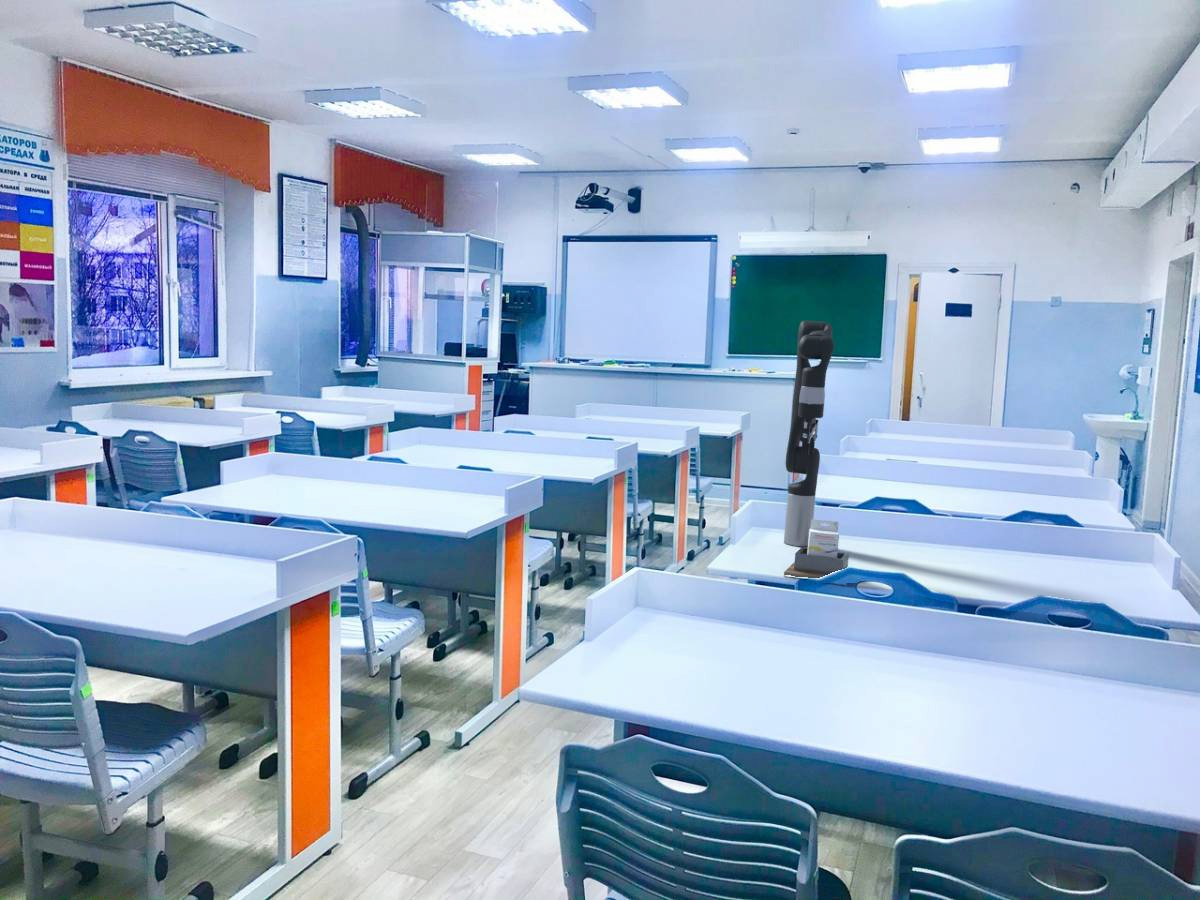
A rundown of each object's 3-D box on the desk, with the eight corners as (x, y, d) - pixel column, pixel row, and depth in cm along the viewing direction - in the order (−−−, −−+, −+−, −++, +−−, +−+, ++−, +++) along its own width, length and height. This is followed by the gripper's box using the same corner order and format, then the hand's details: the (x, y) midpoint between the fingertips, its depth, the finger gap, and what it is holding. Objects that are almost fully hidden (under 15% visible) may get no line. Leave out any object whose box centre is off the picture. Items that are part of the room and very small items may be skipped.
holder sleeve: (800, 563, 296) (802, 547, 295) (847, 569, 291) (848, 553, 290) (793, 569, 287) (795, 553, 286) (842, 576, 282) (843, 560, 281)
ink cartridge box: (806, 570, 287) (810, 521, 285) (805, 566, 292) (809, 518, 290) (836, 573, 286) (840, 524, 284) (834, 569, 290) (839, 520, 289)
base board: (796, 564, 301) (796, 559, 300) (855, 572, 294) (856, 568, 294) (783, 576, 284) (784, 571, 284) (846, 586, 277) (846, 580, 277)
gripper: (804, 399, 305) (799, 450, 307) (794, 401, 292) (790, 455, 294) (828, 401, 302) (823, 453, 304) (819, 403, 289) (815, 457, 291)
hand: (807, 454), depth 299 cm, fingers open, 8 cm apart
